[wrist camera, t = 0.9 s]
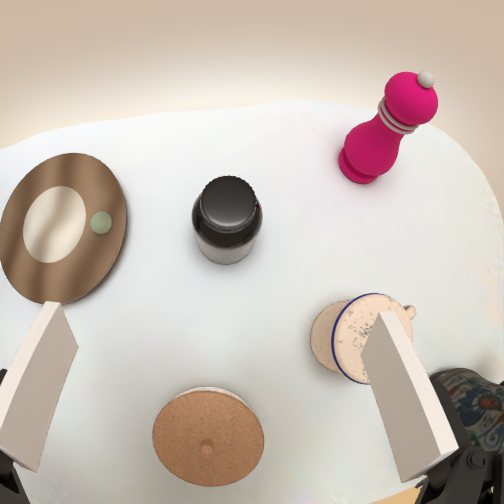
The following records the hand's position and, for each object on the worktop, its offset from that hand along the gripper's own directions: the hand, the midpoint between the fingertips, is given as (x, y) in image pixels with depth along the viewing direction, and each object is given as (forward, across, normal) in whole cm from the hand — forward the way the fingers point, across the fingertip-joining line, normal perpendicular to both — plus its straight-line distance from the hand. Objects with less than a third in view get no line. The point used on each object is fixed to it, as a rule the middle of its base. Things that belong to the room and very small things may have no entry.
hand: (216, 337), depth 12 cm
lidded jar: (+9, -1, -25) cm, 27 cm away
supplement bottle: (+24, 0, -9) cm, 26 cm away
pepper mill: (+33, +18, -1) cm, 38 cm away
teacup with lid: (+16, +16, -17) cm, 29 cm away
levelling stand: (+25, -22, -9) cm, 34 cm away
